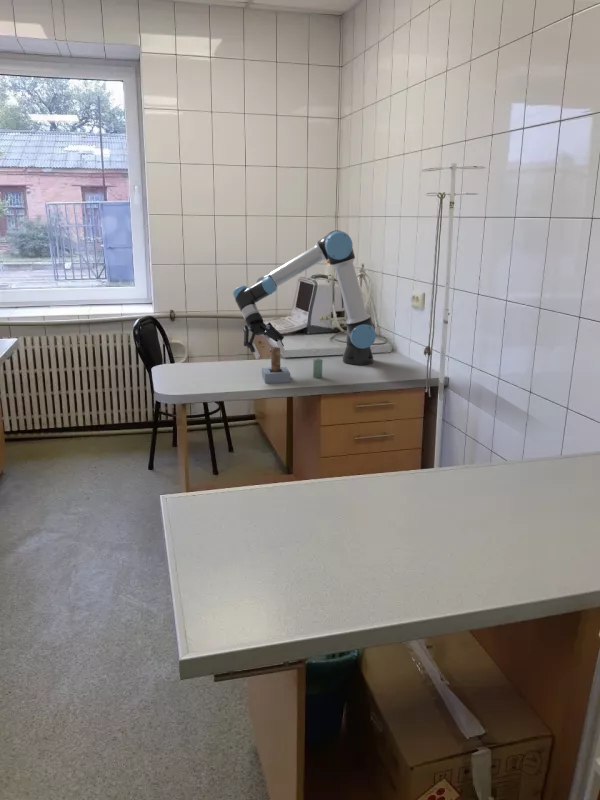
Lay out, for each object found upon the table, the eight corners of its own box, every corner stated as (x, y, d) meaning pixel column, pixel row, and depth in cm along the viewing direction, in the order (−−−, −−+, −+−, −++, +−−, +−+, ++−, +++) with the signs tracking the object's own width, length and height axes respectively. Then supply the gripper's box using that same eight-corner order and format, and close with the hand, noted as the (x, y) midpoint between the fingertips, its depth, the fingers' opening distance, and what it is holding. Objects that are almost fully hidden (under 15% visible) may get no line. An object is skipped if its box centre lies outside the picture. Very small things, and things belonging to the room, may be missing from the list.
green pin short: (321, 375, 280) (321, 358, 278) (322, 378, 277) (323, 360, 274) (312, 376, 280) (312, 358, 277) (314, 378, 276) (314, 361, 273)
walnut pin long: (279, 377, 277) (279, 347, 272) (281, 380, 273) (281, 349, 269) (270, 378, 276) (270, 347, 272) (272, 380, 272) (271, 349, 268)
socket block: (286, 375, 280) (286, 366, 279) (290, 382, 270) (290, 373, 269) (262, 376, 278) (262, 367, 277) (265, 383, 268) (265, 374, 267)
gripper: (272, 318, 290) (290, 356, 284) (225, 324, 276) (244, 364, 269) (278, 309, 285) (297, 347, 278) (231, 314, 271) (250, 354, 264)
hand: (271, 355), depth 274 cm, fingers open, 13 cm apart
